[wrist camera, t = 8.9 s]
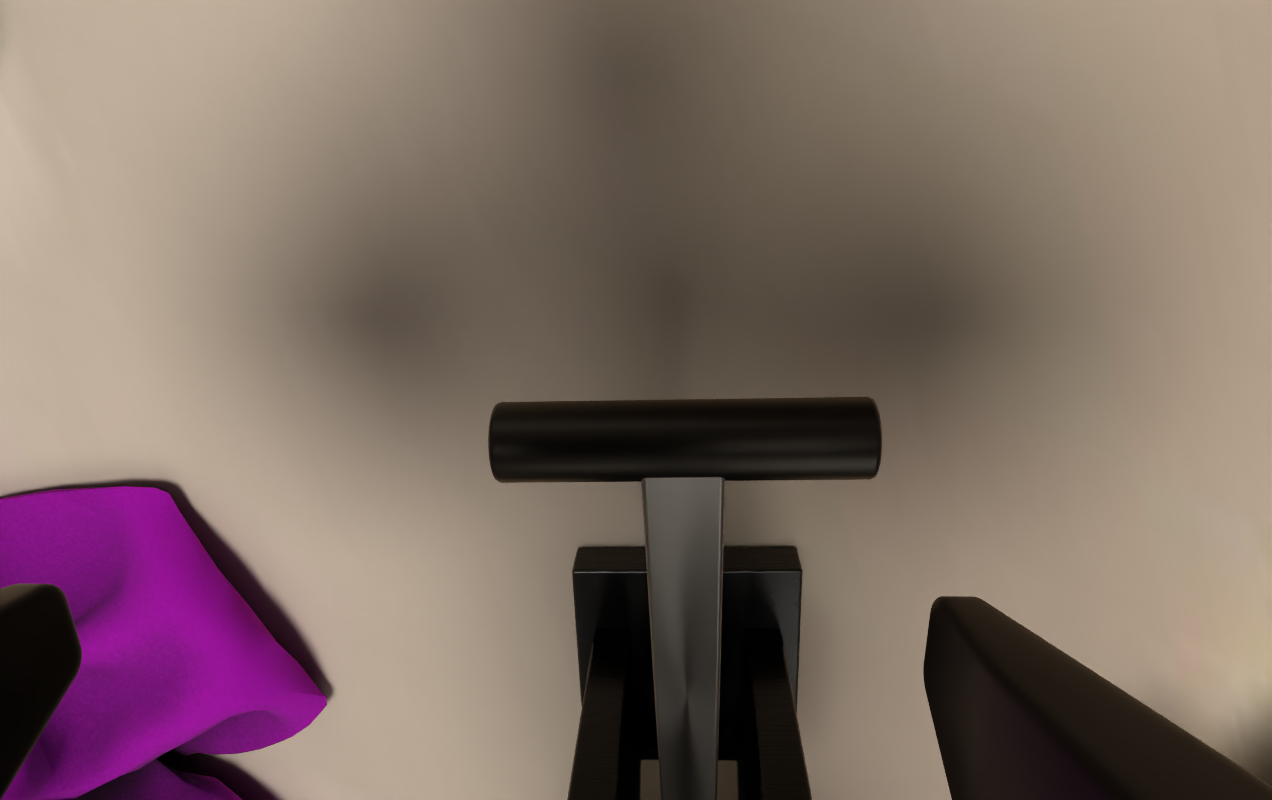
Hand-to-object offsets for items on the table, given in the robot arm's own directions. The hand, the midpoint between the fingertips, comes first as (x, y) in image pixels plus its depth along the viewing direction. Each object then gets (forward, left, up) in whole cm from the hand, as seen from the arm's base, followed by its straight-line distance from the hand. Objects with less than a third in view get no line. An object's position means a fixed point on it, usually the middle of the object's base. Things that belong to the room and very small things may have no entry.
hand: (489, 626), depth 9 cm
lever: (-5, -2, -6) cm, 8 cm away
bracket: (-11, -2, -13) cm, 17 cm away
